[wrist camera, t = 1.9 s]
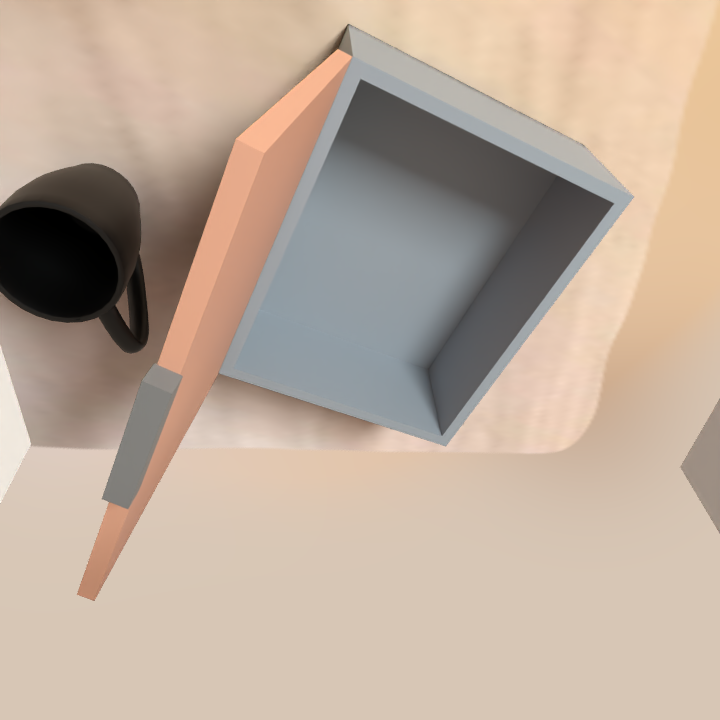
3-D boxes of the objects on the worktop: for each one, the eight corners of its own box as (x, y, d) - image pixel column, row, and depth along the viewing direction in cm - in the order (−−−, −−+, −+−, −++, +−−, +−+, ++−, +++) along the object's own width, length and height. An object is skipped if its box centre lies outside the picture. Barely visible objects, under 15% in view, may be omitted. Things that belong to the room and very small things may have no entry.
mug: (114, 307, 50) (76, 382, 43) (12, 170, 43) (-54, 231, 36) (206, 272, 49) (183, 344, 41) (115, 124, 42) (68, 178, 34)
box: (234, 303, 50) (218, 373, 43) (348, 23, 39) (352, 56, 32) (430, 373, 56) (445, 446, 48) (584, 145, 44) (634, 196, 37)
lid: (218, 375, 43) (205, 369, 43) (354, 57, 31) (335, 47, 31) (85, 621, 27) (63, 613, 27) (258, 165, 16) (220, 146, 15)
